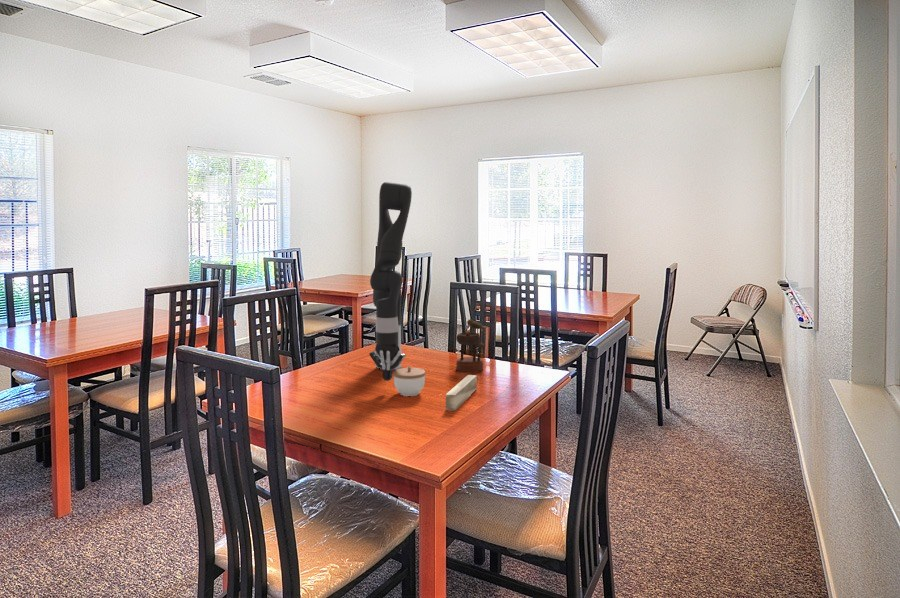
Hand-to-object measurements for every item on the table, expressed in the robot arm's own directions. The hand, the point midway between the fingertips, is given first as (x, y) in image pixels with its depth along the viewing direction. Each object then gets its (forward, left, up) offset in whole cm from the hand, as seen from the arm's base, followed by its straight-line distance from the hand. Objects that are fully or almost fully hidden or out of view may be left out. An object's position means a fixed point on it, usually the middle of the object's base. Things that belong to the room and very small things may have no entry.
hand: (387, 380), depth 196 cm
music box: (+17, +38, -4) cm, 42 cm away
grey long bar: (+26, 0, -4) cm, 27 cm away
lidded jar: (+8, 0, -4) cm, 9 cm away
